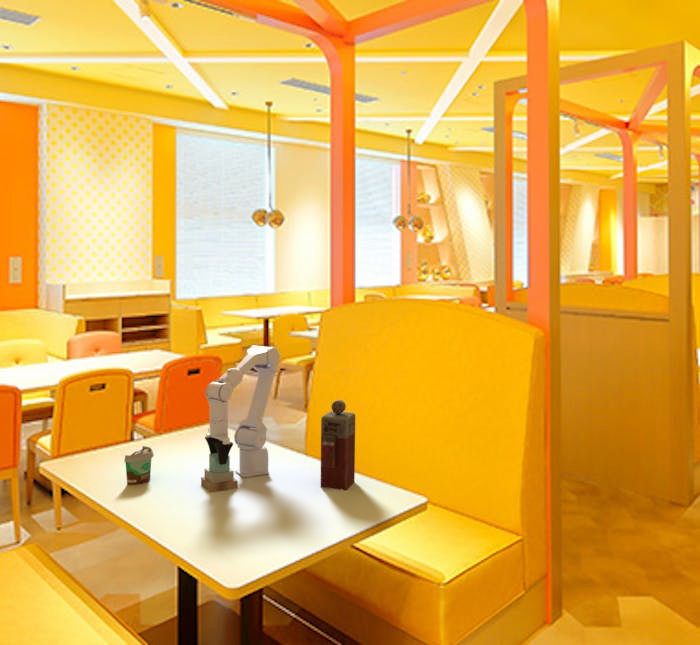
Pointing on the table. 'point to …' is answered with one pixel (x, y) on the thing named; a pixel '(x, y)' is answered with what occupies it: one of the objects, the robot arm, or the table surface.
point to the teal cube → (215, 465)
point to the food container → (139, 466)
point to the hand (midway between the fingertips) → (218, 461)
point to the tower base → (219, 485)
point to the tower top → (219, 476)
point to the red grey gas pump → (338, 448)
